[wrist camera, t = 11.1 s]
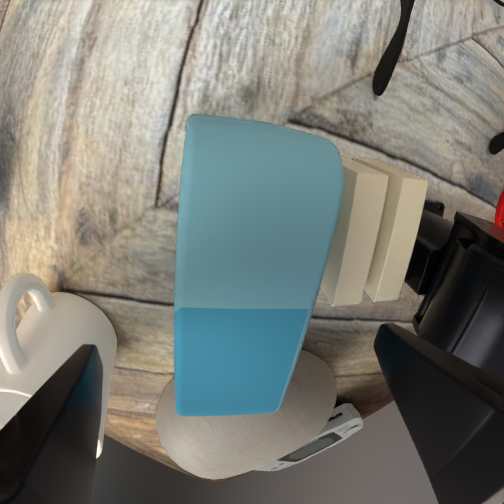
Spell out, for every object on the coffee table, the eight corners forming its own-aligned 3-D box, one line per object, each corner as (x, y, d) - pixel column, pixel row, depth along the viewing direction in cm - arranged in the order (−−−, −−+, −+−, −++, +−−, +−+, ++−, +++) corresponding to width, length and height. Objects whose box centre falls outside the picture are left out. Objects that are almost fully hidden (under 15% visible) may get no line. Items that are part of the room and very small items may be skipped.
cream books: (376, 159, 21) (429, 180, 16) (358, 258, 24) (398, 299, 19) (313, 152, 20) (357, 172, 15) (300, 260, 24) (331, 307, 18)
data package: (189, 113, 17) (186, 122, 7) (262, 121, 19) (357, 147, 8) (175, 286, 22) (177, 430, 12) (237, 288, 24) (276, 425, 13)
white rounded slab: (314, 372, 18) (377, 439, 26) (283, 306, 25) (351, 391, 32) (114, 464, 20) (227, 505, 28) (119, 402, 27) (219, 457, 34)
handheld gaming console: (356, 415, 29) (371, 426, 33) (345, 394, 31) (361, 408, 36) (244, 471, 30) (276, 474, 35) (238, 450, 33) (269, 457, 37)
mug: (0, 249, 18) (-71, 333, 9) (91, 236, 20) (35, 335, 11) (50, 365, 24) (23, 456, 15) (129, 363, 25) (120, 467, 16)
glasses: (505, 10, 16) (539, 7, 12) (493, 156, 23) (532, 168, 18) (381, -80, 12) (415, -102, 7) (359, 90, 18) (404, 87, 14)
